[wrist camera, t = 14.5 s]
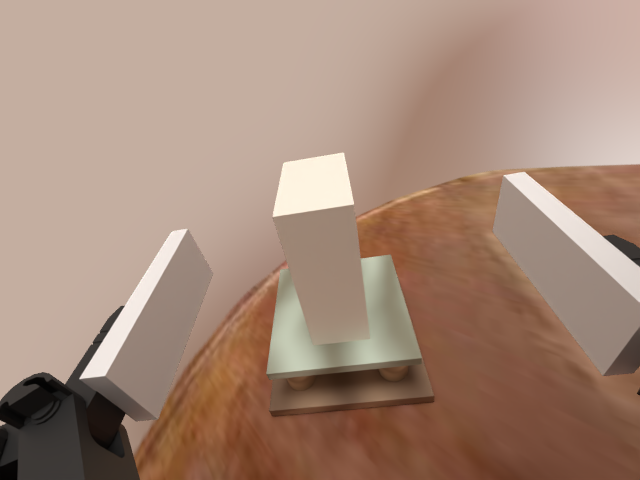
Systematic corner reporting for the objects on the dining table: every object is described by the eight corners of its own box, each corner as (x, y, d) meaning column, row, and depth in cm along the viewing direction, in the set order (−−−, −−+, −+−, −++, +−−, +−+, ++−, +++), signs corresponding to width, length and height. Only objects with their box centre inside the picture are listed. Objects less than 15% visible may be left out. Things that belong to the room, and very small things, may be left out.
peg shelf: (397, 282, 42) (397, 248, 38) (433, 401, 29) (437, 367, 26) (285, 297, 44) (273, 265, 40) (272, 416, 31) (254, 386, 27)
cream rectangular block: (359, 273, 36) (343, 152, 27) (370, 339, 29) (354, 204, 20) (313, 279, 37) (283, 162, 28) (313, 345, 30) (272, 216, 21)
